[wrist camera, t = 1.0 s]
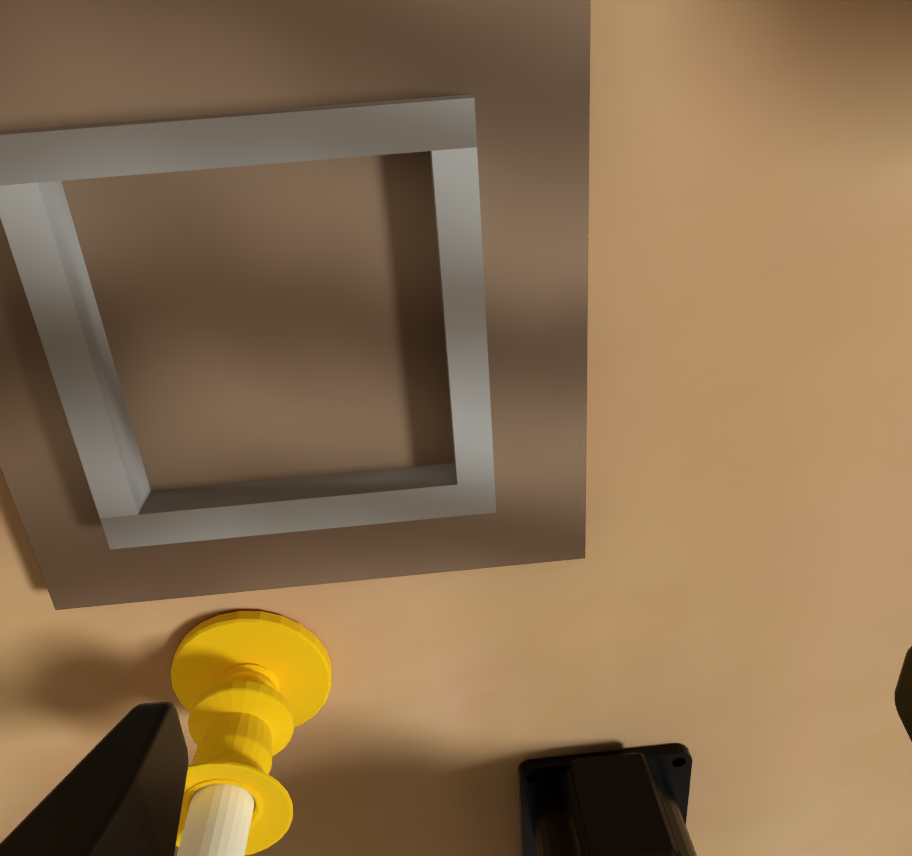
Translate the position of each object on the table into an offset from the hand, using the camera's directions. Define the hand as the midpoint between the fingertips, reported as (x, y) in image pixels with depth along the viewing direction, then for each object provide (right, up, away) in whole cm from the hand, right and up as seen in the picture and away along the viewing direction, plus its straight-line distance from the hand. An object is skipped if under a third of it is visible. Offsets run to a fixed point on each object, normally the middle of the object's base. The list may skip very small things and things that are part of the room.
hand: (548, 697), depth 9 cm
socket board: (-6, +6, +11) cm, 14 cm away
